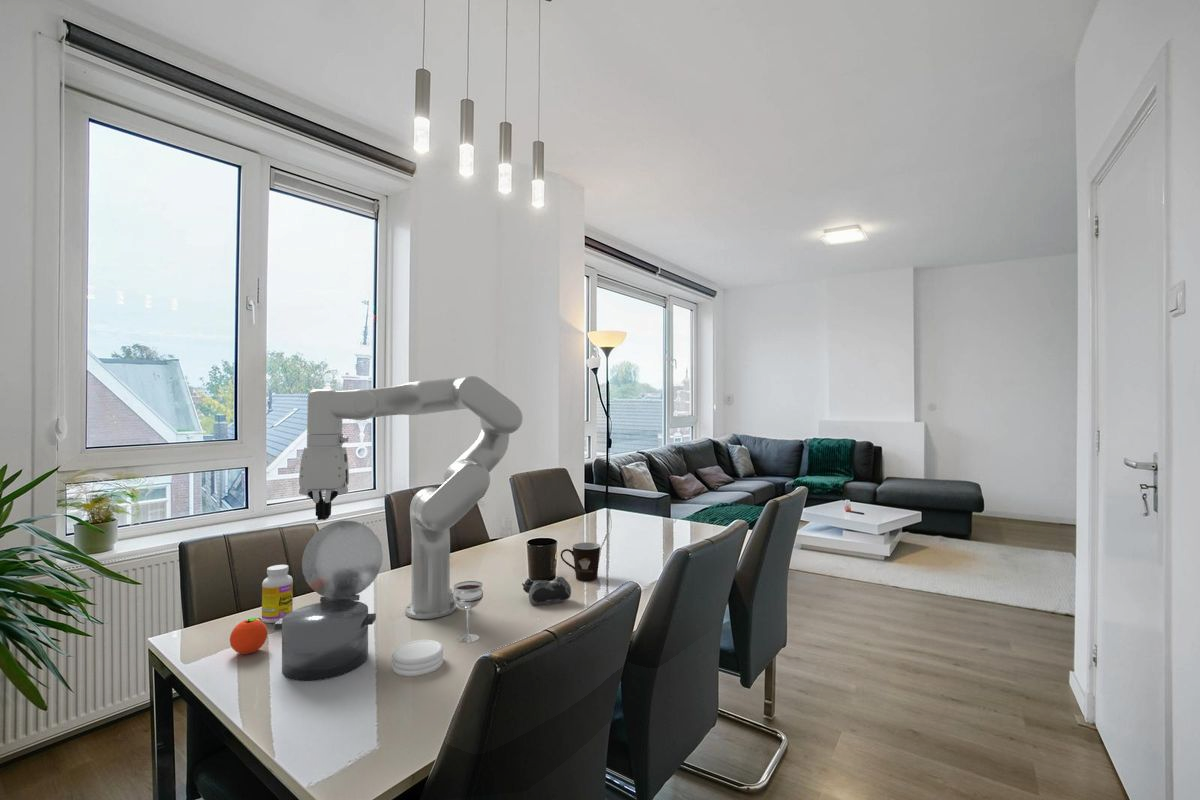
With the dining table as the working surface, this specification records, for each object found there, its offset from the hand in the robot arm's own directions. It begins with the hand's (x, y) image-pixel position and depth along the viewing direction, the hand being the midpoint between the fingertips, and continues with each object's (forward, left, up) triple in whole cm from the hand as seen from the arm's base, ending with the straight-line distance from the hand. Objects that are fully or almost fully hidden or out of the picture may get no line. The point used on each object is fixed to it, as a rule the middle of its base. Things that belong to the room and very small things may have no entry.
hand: (323, 518), depth 134 cm
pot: (-6, +18, -26) cm, 32 cm away
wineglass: (-34, +10, -27) cm, 44 cm away
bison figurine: (-53, -13, -27) cm, 61 cm away
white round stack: (-25, +22, -27) cm, 43 cm away
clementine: (+12, +10, -27) cm, 31 cm away
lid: (-6, +7, -8) cm, 13 cm away
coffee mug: (-65, -31, -27) cm, 77 cm away
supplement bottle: (+14, -9, -27) cm, 31 cm away
